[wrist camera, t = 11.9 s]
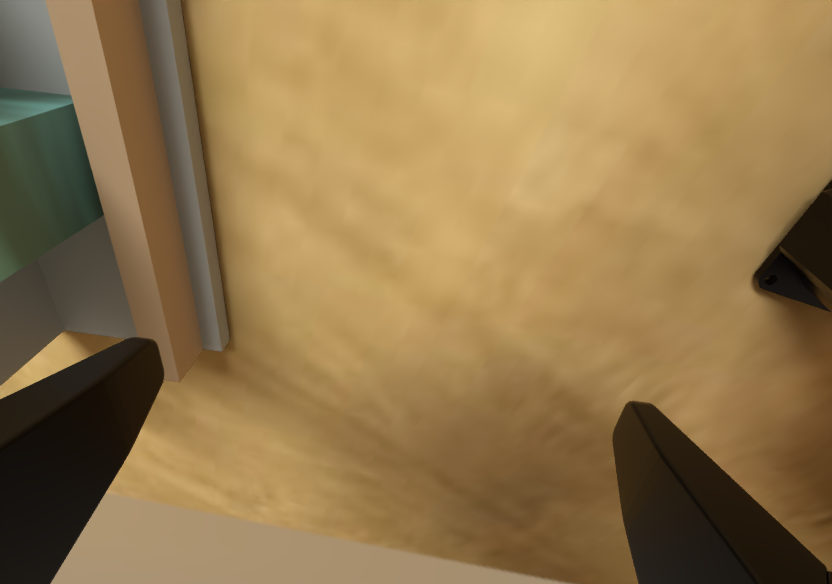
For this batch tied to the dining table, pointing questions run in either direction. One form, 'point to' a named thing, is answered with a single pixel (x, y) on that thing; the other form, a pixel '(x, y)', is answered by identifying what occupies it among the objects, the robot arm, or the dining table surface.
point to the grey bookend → (118, 184)
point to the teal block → (41, 176)
